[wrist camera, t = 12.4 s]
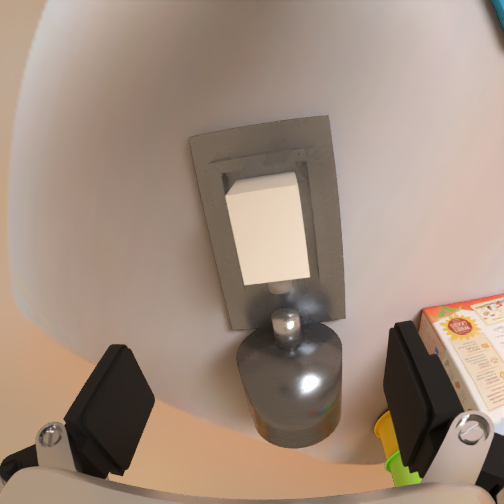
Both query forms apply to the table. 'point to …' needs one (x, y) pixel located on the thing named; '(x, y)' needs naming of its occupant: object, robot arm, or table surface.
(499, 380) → the cracker box
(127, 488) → the robot arm
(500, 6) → the blue ramp
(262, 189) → the block
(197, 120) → the table surface
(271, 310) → the electric bell
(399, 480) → the stacking cups
